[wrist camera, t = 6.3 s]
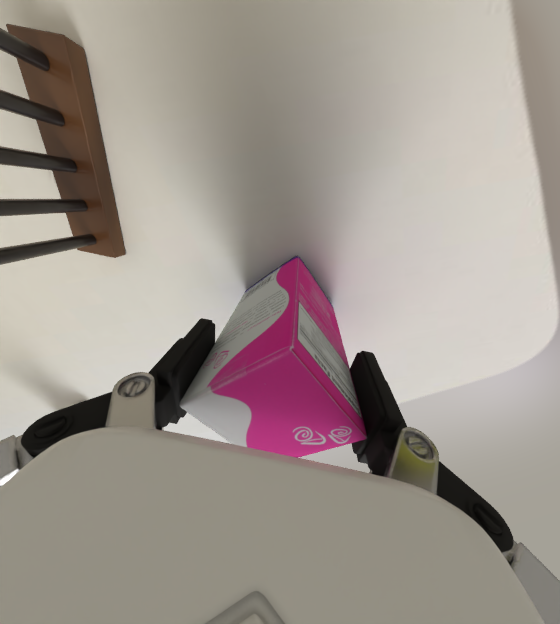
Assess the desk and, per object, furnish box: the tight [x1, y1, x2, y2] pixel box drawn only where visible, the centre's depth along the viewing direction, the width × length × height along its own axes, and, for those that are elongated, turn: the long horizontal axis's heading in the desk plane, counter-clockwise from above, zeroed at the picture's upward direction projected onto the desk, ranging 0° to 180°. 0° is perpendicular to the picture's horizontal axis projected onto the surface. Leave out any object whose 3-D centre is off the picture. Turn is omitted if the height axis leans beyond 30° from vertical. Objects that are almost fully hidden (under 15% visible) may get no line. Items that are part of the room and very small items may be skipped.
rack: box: [0, 24, 126, 265], centre depth 11 cm, size 12×3×8 cm, turn 170°
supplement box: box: [179, 256, 367, 458], centre depth 13 cm, size 6×6×12 cm
